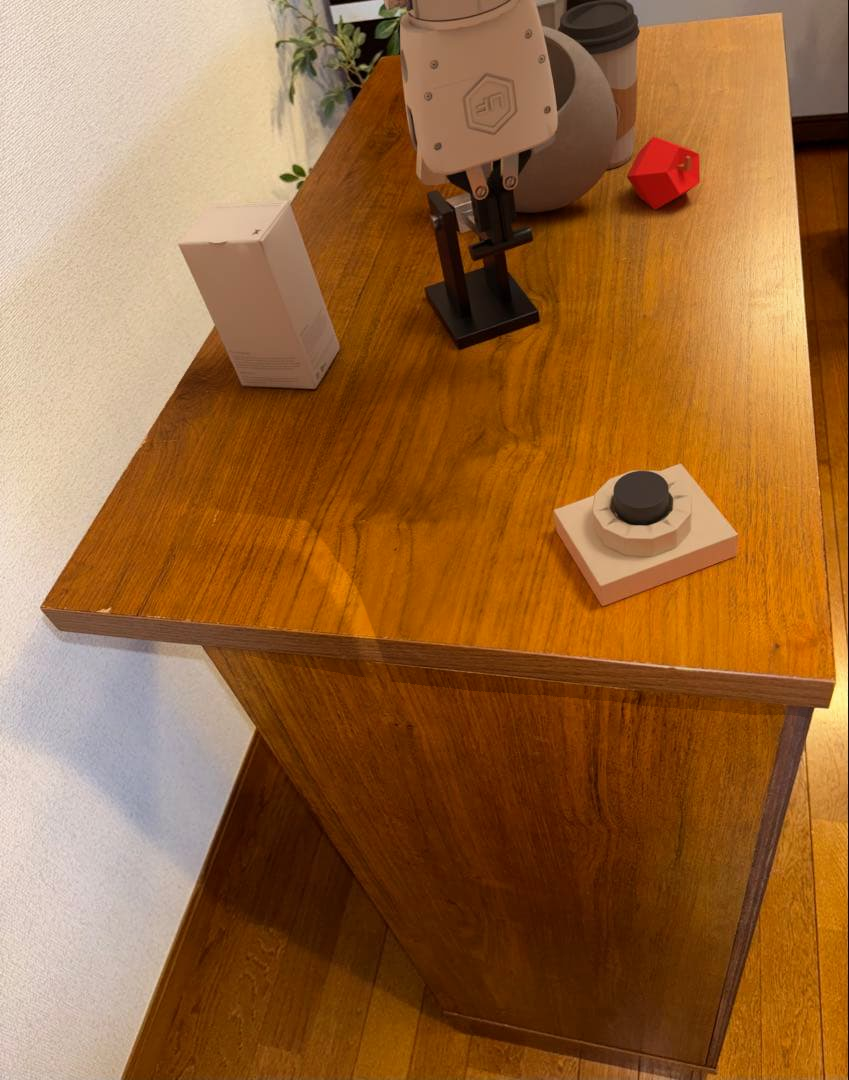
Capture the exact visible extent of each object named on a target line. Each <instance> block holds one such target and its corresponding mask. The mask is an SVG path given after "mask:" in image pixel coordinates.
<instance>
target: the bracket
mask: <svg viewBox="0 0 849 1080" xmlns="http://www.w3.org/2000/svg"><path fill="white" fill-rule="evenodd" d="M426 197H427V202H428V207H429V212H430V215H429V221H430V225H431V228H432V230H433V232H434V237H435V242H436V246H437V252H438V257H439V263H440V266H441V271H442V277H443V280H441V281H439V282H436V283H433V284H430V285H428V286H425V287H424V293H425V294H424V295H425V298H426V299H427V301H428V303H429V305H430V306H431V307H432V309H433V311H434V313H435V314H436V316H437V317H438V318H439V320H440V322H441V323H442V325H443V327H444V329H445V330H446V332H447V333H448V335H449V336H450V339H452V341H453V343H454V344H455V346H456V348H457V349H458V350H462V349H466V348H468V347H470V346H473V345H476V344H479V343H482V342H485V341H488V340H491V339H493V338H497V337H500V336H502V335H506V334H508V333H510V332H514V331H516V330H519V329H522V328H525V327H528V326H530V325H534V324H536V323H539V322H540V321H541V320H540V311H539V309H538V308H537V307H536V306H535V304H534V303H533V302H532V300H531V299H530V298H529V297H528V295H527V294H526V293H525V291H524V290H523V289H522V287H521V286H520V285H519V284H518V282H517V281H516V280H515V278H514V277H513V276H512V274H511V273H510V272H509V270H508V262H507V257H506V251H504V252H501V253H498V254H495V255H492V256H489V257H486V258H483V259H482V263H483V266H482V267H480V268H477V269H473V270H471V271H467V272H465V269H464V263H463V259H462V252H461V248H460V242H459V237H458V231H457V230H456V225H455V220H454V214H453V210H452V209H451V207H450V206H449V205H448V203H447V202H446V199H445V197H443V195H442V194H441V193H440V191H439V190H438V189H434V190H431V191H428V192H426ZM478 239H479V241H478V242H480V241H483V240H482V239H481V238H480V237H479V236H478Z"/></svg>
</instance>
